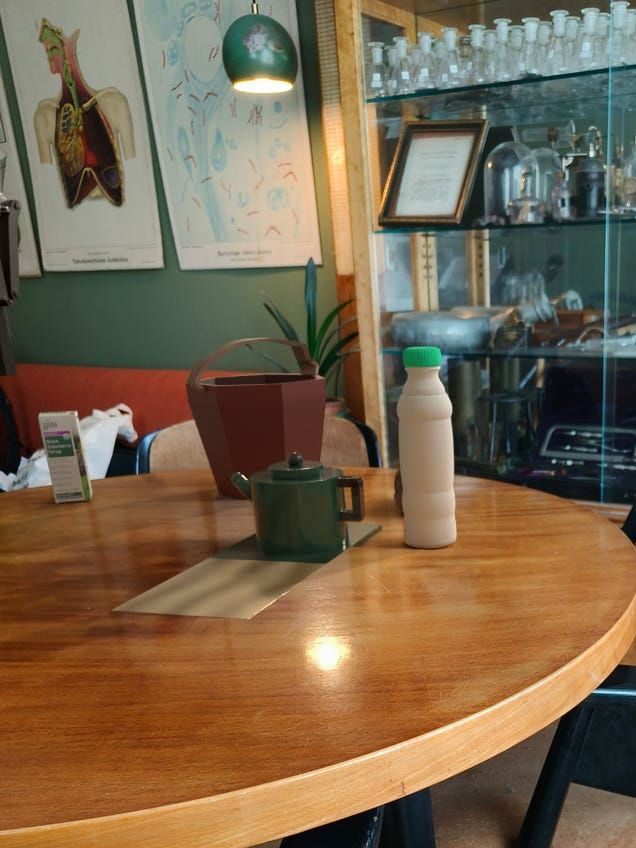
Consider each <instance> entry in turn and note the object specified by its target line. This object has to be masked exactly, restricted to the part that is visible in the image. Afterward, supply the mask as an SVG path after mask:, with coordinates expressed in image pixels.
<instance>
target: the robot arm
mask: <svg viewBox="0 0 636 848" xmlns="http://www.w3.org/2000/svg"><path fill="white" fill-rule="evenodd" d="M21 209H22V207H21V204H20V202H19V201H18V200H17V199H8V198H7V197H6V196H5V195H4V194H3V193H2V192H0V377H8V376H10V377H11V376H17V375H18V372H17V368H16V367H17V366H16V362H15V357H14V352H13V347H12V342H11V341H12V335H13V334H12V330H11V325H10V320H9V316H8V310H7V307H11V308H12V307H14V306H16V300H19V299H20V298H21V288H20V286H21V285H20V263H19V260H20V259H19V238H18V222H19V219H20V215H21Z"/></svg>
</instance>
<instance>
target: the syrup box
mask: <svg viewBox="0 0 636 848" xmlns="http://www.w3.org/2000/svg"><path fill="white" fill-rule="evenodd" d="M37 419H38V425H39V430H40V434H41V435H40V436H41V438H42V444H43V448H44V453H45V458H46V463H47V468H48V472H49V477H50V482H51V486H52V493H53V498H54V503H55V504H56V505H57V504H62V503H63V504H64V503H74V502H75V503H77V502H84V501H87V502H88V501H89V502H90V501H92V498H93V493H94V492H93V487H92V482H91V477H90V472H89V467H88V462H87V461H88V460H87V456H86V449H85V445H84V441H83V435H82V429H81V423H80V418H79V413H78V410H67V411H50V412H48V411H47V412H39V414H38V417H37Z"/></svg>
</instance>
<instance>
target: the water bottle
mask: <svg viewBox="0 0 636 848" xmlns="http://www.w3.org/2000/svg"><path fill="white" fill-rule="evenodd" d="M442 361H443V360H442V352H441V349H440V348H439V347H436V346H412V347H407V348H405V349H404V350H403V353H402V363H403V366H404V367H405V368H404V370H405V371H406V373H407V379H406V381H405V383H404V384H403V386H402V393H401V394H400V395H399V399H398V401H397V404H396V415H397V417H398V455H399V468H400V470H401V479H402V486H403V493H402V507H403V511H402V513H403V526H402V527H403V541H404V543H406V544H407V545H408V546H409V547H412V548H414V549H415V548H416V549H423V550H424V549H425V550H430V549H441V548H445V547H449V546H451V545H452V544H454V543H455V542H456V540H457V522H456V516H455V514H456V513H455V512H456V495H455V491H454V481H455V480H454V479H455V453H454V434H453V425H452V414H453V404H452V402H451V401H452V400H451V399H450V398H449V395H448V393H447V392H446V389H445V386H444V384H443V383H442V381H441V380H440V377H439V371H440V369H441V368H442V367H441V365H442Z"/></svg>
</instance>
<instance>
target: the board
mask: <svg viewBox="0 0 636 848" xmlns="http://www.w3.org/2000/svg"><path fill="white" fill-rule="evenodd" d="M347 523H348V535H349V540H348V541H347V542H346V543H345V544H343V545H341V546H339V547H336V548H333V549H329V550H325V551H320V552H313V553H302V554H281V553H272V552H267V551H264V550H261V549H260V548H259V547H258V546H257V538H256V532H255V533H253V534H251V535H248V536H247V537H245V538H243V539H242V540H239V541H238V542H236V543H234V544H232V545H231V546H228V547H226V548H225V549H223V550H221V551H219V552H217V553H215V554H214V555H212V556H210V557H208V558H206V559H204V560H203V561H201V562H200V561H199V563H197V564H194V565H193V566H191V567H189V568H187V569H186V570H184V571H182V572H180V573H178V574H176V575H174V576H172V577H170V578H169V579H167V580H165V581H163V582H161V583H159V584H157V585H156V586H154V587H152V588H150V589H148V590H146V591H144V592H143V593H141V594H139V595H137V596H135V597H133V598H131V599H129V600H127V601H126V602H124V603H122V604H120V605H118V606H117V607H114V608H113V609H111V611H112V612H113V611H114V612H126V613H127V612H128V613H140V614H141V613H142V614H156V615H173V616H185V617H186V616H187V617H200V618H201V617H202V618H217V619H231V620H245V621H246V620H247V621H249V620H250V619H251V618H252V617H254V616H256V615H257V614H259V613H260V612H261V611H263V610H264V609H266V608H267V607H269V605H271V604H272V603H274V602H276V601H277V600H278V599H279V598H281V597H282V596H284V595H285V594H287V593H288V592H289V591H291V590H292V589H294V588H295V587H296V586H298V585H299V584H300V583H302V582H303V581H305V580H306V579H308V578H309V577H311V576H312V575H313V574H315V573H316V572H317V571H319V570H320V569H322V568H323V567H324V566H326V565H327V564H328V563H330V562H331V561H333V560H335V558H337V557H339V556H340V555H341V554H343V553H344V552H345V551H347V550H348V549H350V548H359V547H360V546H362V545H363V544H364V543H365V542H367V541H368V540H370V539H371V538H373V537H374V536H376V535H377V534H379V533H380V532H381V531H382V530H383V524H382V523H363V522H362V523H360V522H347Z"/></svg>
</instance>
